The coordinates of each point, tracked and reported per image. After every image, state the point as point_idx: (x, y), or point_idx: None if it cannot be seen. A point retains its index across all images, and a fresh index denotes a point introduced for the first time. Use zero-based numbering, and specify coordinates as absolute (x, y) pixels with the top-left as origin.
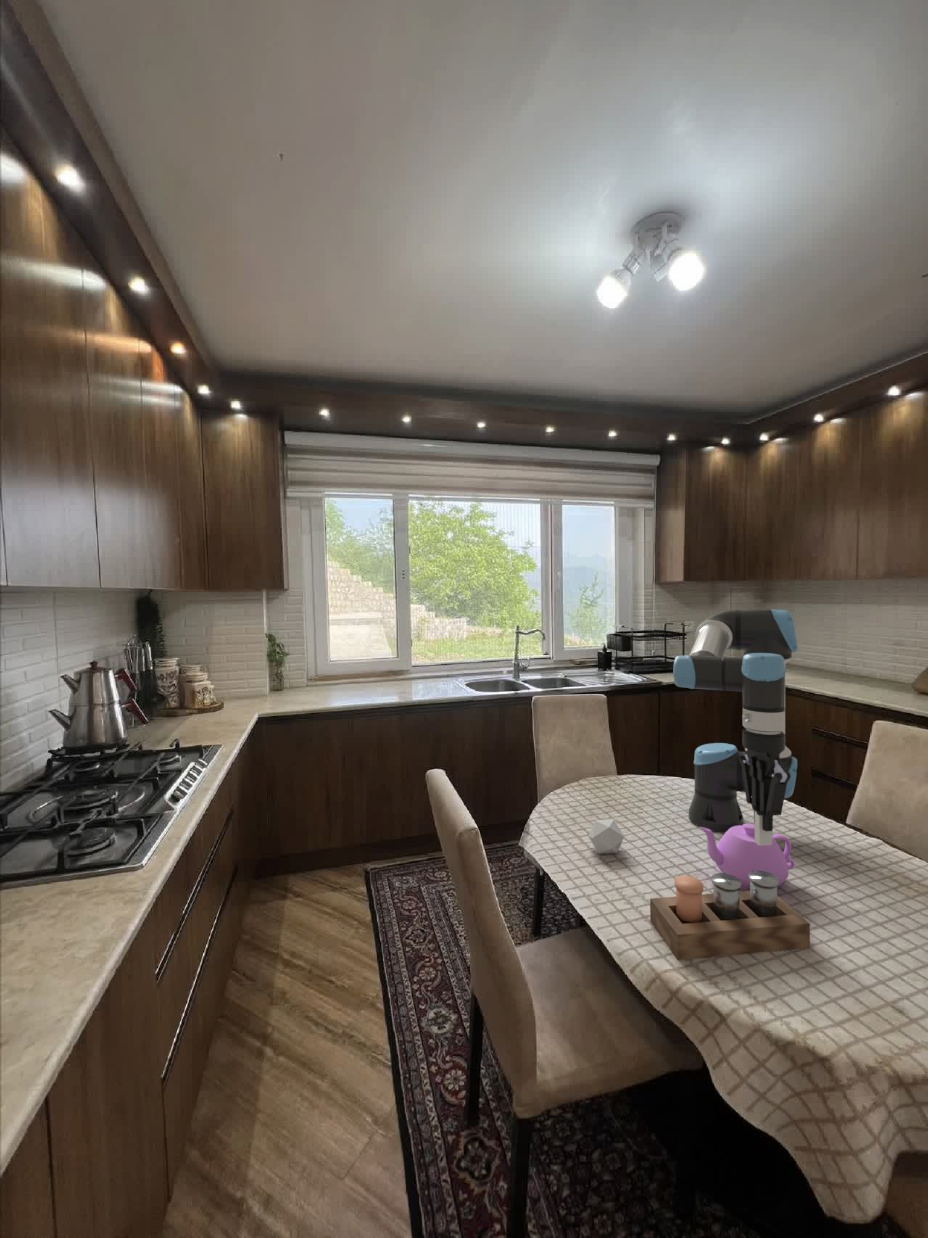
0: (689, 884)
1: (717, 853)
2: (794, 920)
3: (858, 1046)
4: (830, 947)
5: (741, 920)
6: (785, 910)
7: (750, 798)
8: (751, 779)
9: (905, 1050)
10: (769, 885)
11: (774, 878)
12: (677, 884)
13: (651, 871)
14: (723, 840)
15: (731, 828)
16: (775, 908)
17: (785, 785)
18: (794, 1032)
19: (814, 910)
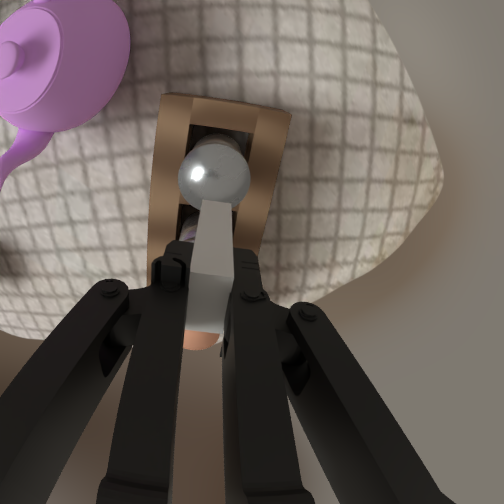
0: (198, 334)
1: (39, 147)
2: (273, 135)
3: (413, 216)
4: (292, 74)
5: (238, 229)
6: (239, 123)
7: (123, 354)
8: (62, 433)
9: (436, 177)
10: (247, 190)
11: (228, 156)
12: (193, 348)
13: (28, 223)
14: (11, 122)
15: None
16: (241, 153)
17: (426, 482)
18: (374, 260)
19: (196, 8)
